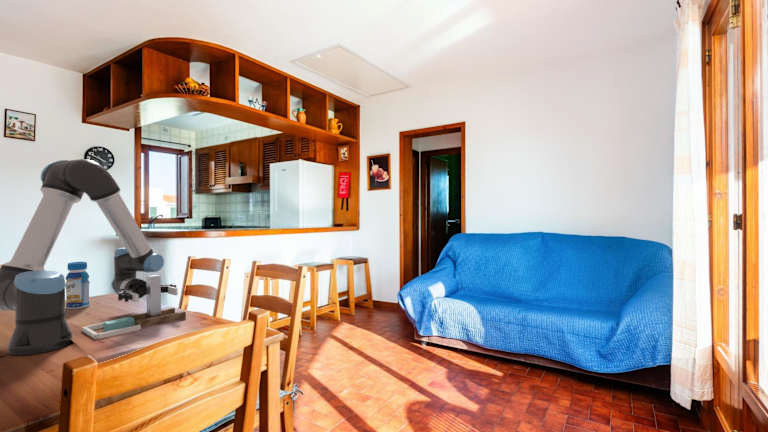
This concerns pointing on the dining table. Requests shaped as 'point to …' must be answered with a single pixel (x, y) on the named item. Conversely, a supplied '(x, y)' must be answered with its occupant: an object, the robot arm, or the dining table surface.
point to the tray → (94, 335)
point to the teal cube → (112, 325)
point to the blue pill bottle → (77, 286)
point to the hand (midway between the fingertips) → (157, 295)
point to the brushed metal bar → (153, 296)
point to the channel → (158, 318)
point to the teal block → (126, 322)
